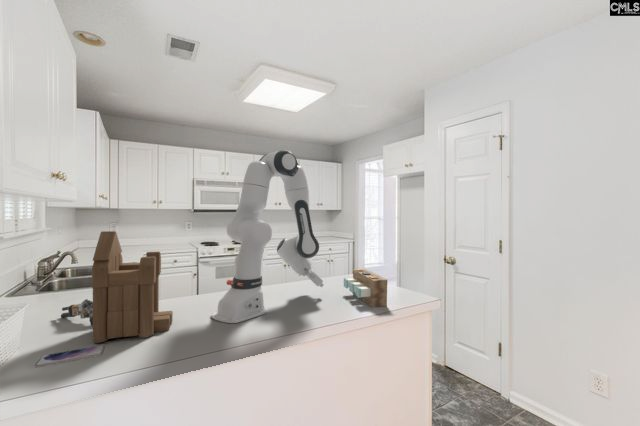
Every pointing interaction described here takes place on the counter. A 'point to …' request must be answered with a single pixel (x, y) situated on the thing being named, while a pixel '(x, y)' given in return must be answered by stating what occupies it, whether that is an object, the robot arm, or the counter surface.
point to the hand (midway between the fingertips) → (321, 285)
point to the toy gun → (80, 310)
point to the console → (373, 287)
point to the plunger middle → (353, 286)
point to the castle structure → (125, 293)
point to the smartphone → (70, 356)
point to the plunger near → (363, 291)
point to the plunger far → (346, 281)
